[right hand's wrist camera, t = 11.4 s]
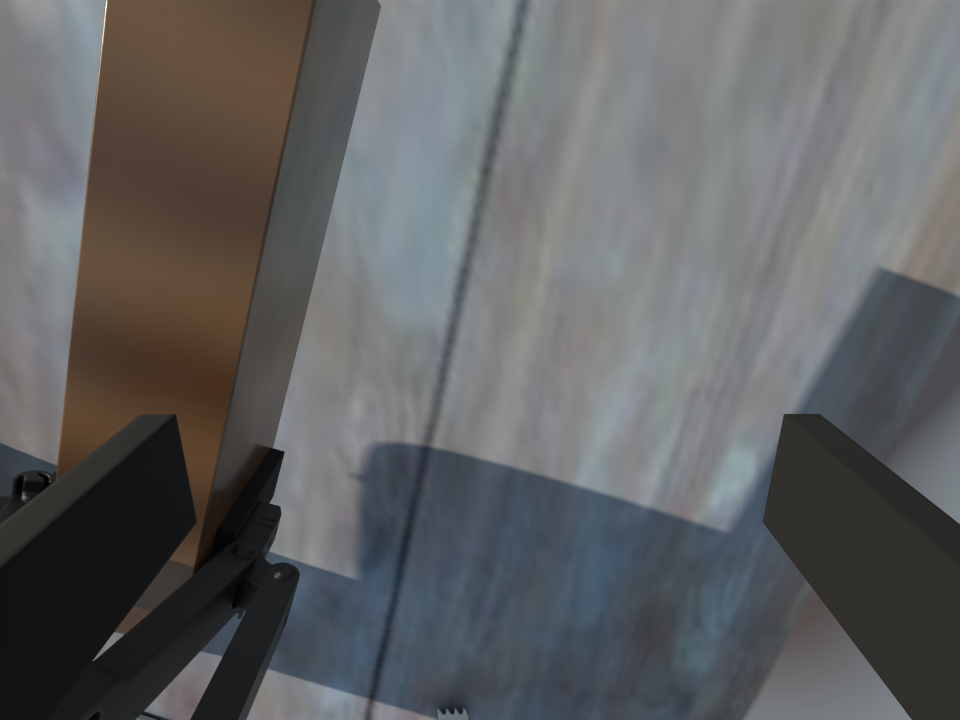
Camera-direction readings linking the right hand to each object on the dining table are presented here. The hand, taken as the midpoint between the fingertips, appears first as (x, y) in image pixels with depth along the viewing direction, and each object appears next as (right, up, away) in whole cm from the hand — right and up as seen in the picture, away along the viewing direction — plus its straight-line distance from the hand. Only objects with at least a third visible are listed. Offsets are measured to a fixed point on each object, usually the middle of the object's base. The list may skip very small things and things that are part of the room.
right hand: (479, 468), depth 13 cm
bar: (-10, +6, +14) cm, 18 cm away
